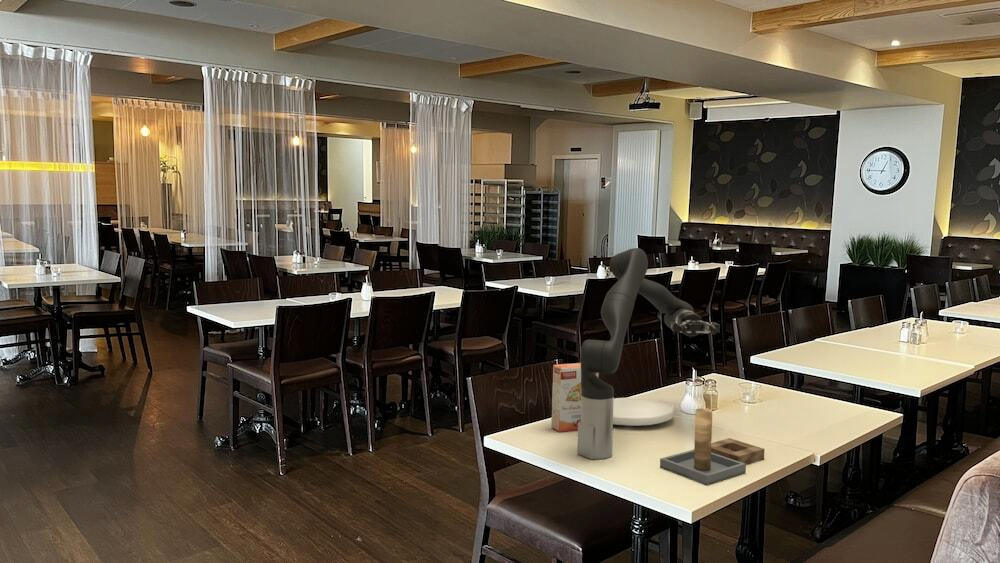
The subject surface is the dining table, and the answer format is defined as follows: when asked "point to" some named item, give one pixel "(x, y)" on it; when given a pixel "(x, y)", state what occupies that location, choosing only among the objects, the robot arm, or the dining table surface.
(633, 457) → the dining table surface
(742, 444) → the socket block
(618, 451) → the dining table surface
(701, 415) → the dowel
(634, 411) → the plate
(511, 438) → the dining table surface
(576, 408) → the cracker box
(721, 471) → the tray
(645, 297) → the robot arm
